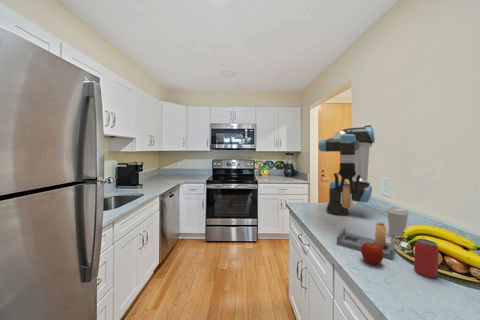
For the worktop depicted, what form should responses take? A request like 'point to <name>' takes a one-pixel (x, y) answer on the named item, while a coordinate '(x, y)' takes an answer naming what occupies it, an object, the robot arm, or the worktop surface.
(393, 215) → the coffee cup
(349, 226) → the worktop surface
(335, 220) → the worktop surface
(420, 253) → the beer can
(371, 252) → the apple
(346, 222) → the worktop surface
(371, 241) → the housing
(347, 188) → the peg
